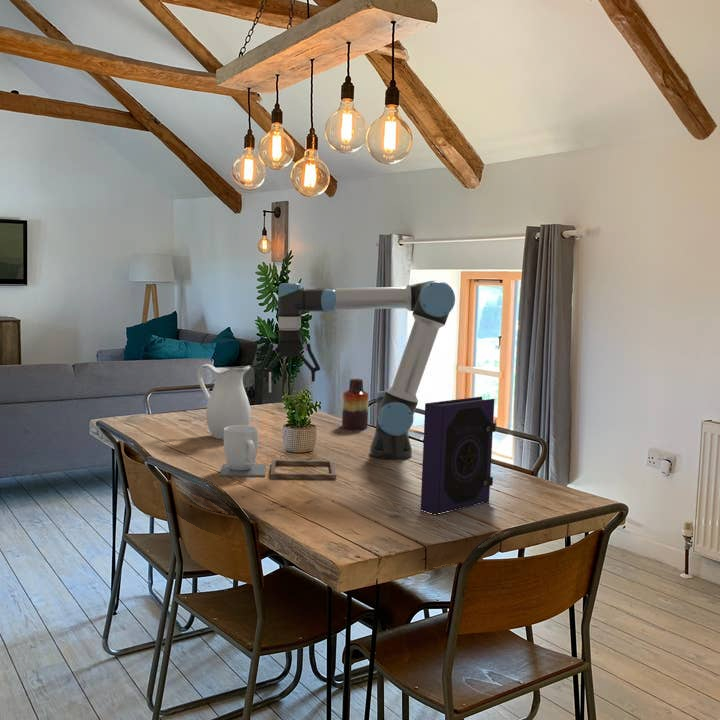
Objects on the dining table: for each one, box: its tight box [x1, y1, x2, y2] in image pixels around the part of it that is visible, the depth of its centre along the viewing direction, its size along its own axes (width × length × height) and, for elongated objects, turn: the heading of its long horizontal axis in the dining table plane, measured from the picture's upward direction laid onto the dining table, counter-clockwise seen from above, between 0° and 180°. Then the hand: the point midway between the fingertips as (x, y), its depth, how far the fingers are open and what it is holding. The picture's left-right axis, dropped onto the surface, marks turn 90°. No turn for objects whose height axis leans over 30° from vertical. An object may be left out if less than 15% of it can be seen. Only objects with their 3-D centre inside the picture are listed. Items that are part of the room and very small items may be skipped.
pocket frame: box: [270, 459, 337, 480], centre depth 250 cm, size 20×18×2 cm
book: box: [420, 396, 497, 514], centre depth 216 cm, size 24×6×30 cm, turn 132°
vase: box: [341, 378, 370, 431], centre depth 326 cm, size 11×11×20 cm
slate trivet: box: [219, 463, 267, 478], centre depth 248 cm, size 14×14×1 cm
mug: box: [223, 425, 259, 471], centre depth 246 cm, size 15×11×13 cm
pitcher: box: [196, 363, 251, 441], centre depth 299 cm, size 24×17×28 cm
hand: (290, 391), depth 262 cm, fingers open, 13 cm apart
